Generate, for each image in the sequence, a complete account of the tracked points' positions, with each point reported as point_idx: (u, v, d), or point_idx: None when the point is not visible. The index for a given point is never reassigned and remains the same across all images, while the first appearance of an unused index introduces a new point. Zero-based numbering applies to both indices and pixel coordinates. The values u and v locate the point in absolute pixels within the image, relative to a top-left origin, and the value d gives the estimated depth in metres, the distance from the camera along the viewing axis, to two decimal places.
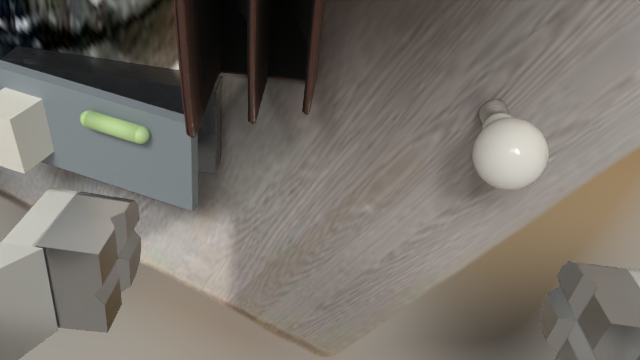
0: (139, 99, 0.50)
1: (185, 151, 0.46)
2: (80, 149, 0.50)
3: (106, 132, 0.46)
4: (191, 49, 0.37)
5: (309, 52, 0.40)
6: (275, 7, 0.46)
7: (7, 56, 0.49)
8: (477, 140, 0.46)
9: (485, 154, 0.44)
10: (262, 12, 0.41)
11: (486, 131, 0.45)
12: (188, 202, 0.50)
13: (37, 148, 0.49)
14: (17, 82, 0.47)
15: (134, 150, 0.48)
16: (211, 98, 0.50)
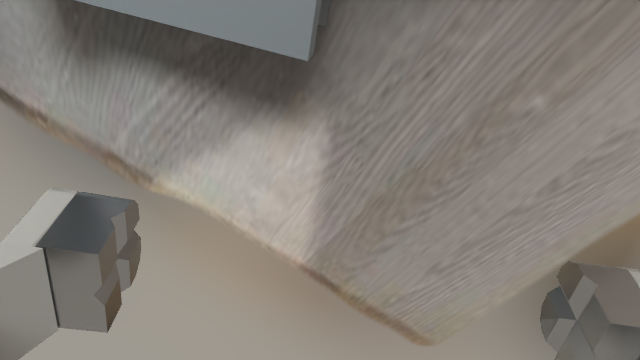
0: None
1: None
2: None
3: None
4: None
5: None
6: None
7: None
8: None
9: None
10: None
11: None
12: (303, 43, 0.29)
13: None
14: None
15: None
16: None
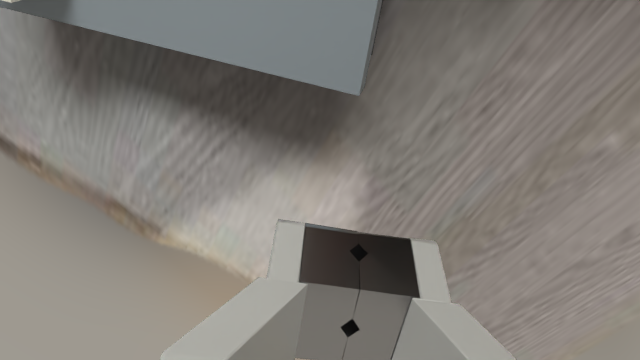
0: None
1: None
2: None
3: None
4: None
5: None
6: None
7: None
8: None
9: None
10: None
11: None
12: (354, 74, 0.24)
13: None
14: None
15: None
16: None
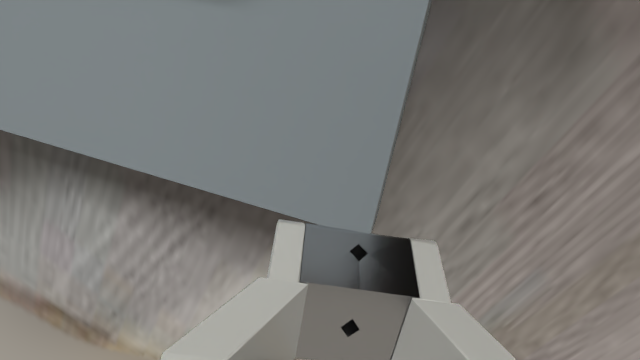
0: None
1: None
2: (4, 36, 0.15)
3: None
4: None
5: None
6: None
7: None
8: None
9: None
10: None
11: None
12: (361, 209, 0.15)
13: None
14: None
15: (189, 14, 0.13)
16: None
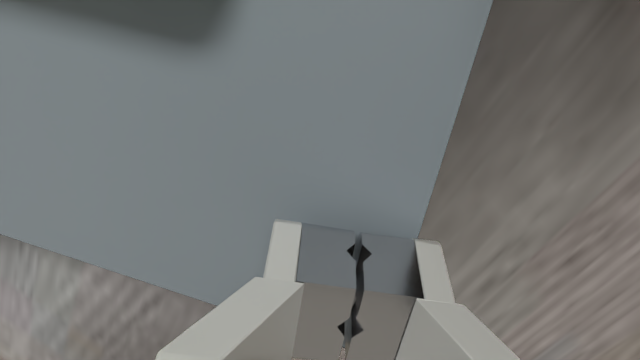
0: None
1: (436, 45, 0.08)
2: None
3: None
4: None
5: None
6: None
7: None
8: None
9: None
10: None
11: None
12: None
13: None
14: None
15: (132, 73, 0.10)
16: None
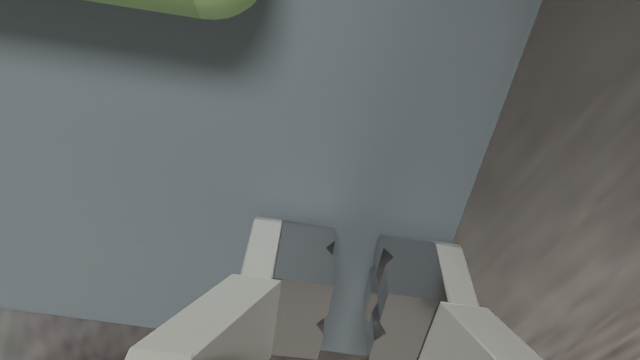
0: None
1: (481, 53, 0.08)
2: None
3: None
4: None
5: None
6: None
7: None
8: None
9: None
10: None
11: None
12: None
13: None
14: None
15: (134, 106, 0.08)
16: None
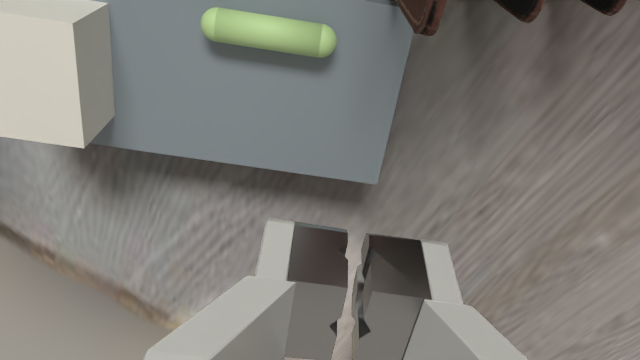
0: None
1: (393, 66, 0.27)
2: (173, 100, 0.28)
3: (259, 41, 0.25)
4: None
5: None
6: None
7: None
8: None
9: None
10: None
11: None
12: (373, 169, 0.30)
13: (98, 101, 0.26)
14: None
15: (288, 83, 0.27)
16: None
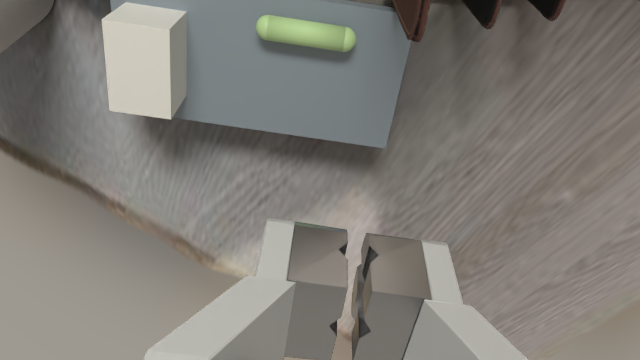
0: None
1: (398, 57, 0.35)
2: (231, 83, 0.37)
3: (299, 40, 0.33)
4: None
5: None
6: None
7: None
8: None
9: None
10: None
11: None
12: (382, 136, 0.39)
13: (179, 85, 0.35)
14: None
15: (319, 70, 0.36)
16: None
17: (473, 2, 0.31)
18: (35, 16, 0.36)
